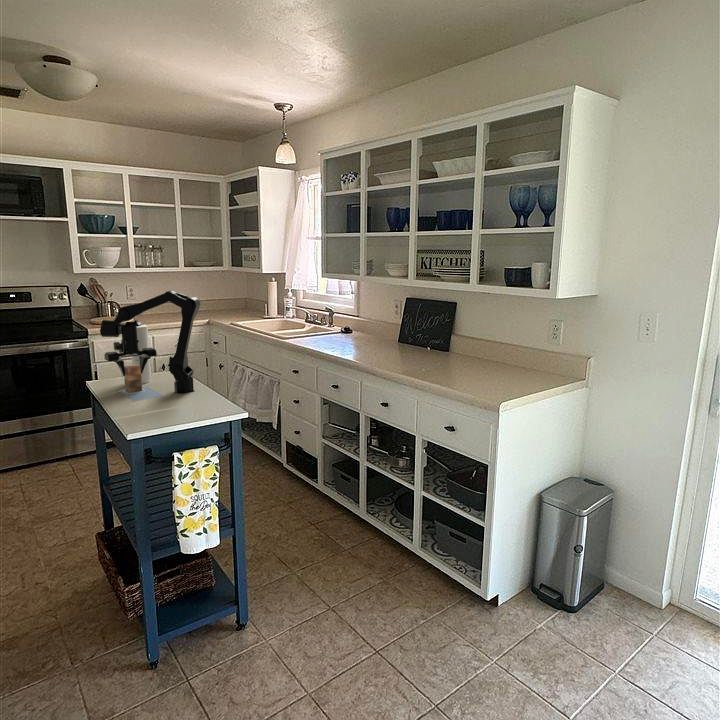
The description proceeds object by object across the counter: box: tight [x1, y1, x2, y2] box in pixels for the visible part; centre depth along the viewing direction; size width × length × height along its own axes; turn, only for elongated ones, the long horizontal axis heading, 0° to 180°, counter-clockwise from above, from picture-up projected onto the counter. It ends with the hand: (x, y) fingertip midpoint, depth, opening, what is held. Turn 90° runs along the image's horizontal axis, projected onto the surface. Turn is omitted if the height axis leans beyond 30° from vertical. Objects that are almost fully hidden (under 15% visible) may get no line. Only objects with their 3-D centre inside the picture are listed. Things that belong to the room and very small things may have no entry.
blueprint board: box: [118, 385, 166, 402], centre depth 211 cm, size 12×19×1 cm, turn 41°
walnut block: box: [123, 378, 143, 393], centre depth 214 cm, size 5×5×5 cm
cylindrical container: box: [131, 324, 152, 385], centre depth 227 cm, size 7×7×25 cm
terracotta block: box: [123, 364, 141, 381], centre depth 213 cm, size 5×5×5 cm
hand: (132, 375), depth 213 cm, fingers open, 6 cm apart
